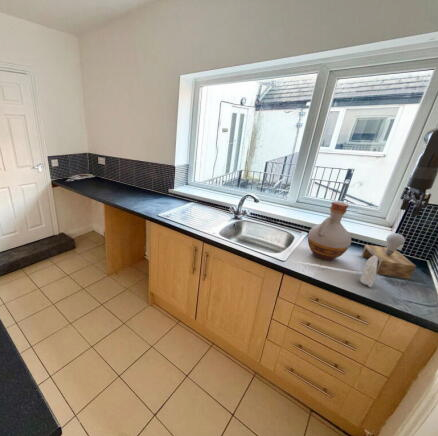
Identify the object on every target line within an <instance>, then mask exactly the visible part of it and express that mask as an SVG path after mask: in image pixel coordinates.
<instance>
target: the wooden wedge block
mask: <svg viewBox="0 0 438 436" xmlns="http://www.w3.org/2000/svg"><path fill="white" fill-rule="evenodd" d="M363 247H364V248H363V250H362V252H361V257H362V258H367V259H369V258H371V257H372V256H375V257H377V259H378V264H377V268H376V274H378V275H384V276H388V277H389V276H390V277H395V278H400V279H405V280H406V279H407V280H410V279H412V276H413V273H414V271H415V269H416V267H417V266H416V265H415V263H413V262H412V261H411V260H409V259H408V258H407V257H406V256H404V255H403V254H402V253H401V252H400V251H398V250H397V249H396V250H395V251H394V253H393V254H390V255H389V254H387V253H386V250H387V246H386V247H385V246H378V245H372V244H365V245H364V246H363Z"/></svg>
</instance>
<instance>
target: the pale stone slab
mask: <svg viewBox="0 0 438 436" xmlns="http://www.w3.org/2000/svg"><path fill="white" fill-rule="evenodd" d="M378 263H379V261H378V259H377V257H375V256H372V257H371V258H367V260H366V262H365V263H364V265H363V267H362V268H361V272H362V274H361V276H360V279H359V280H360V282H361V283H362V284H363V285H367V286H368V287H369V288H372V287H373V283H374V282H375V279H376V277H377V273H376V270H377V267H378Z"/></svg>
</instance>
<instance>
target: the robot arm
mask: <svg viewBox="0 0 438 436" xmlns="http://www.w3.org/2000/svg"><path fill="white" fill-rule="evenodd" d="M422 140H423V143H424V144H426V145H425V147H424V150H423V151H422V152H421V153H420V154H419V155H418V157H417V160H416V162H415V165H414V167H413V169H412V170H411V173H410V175H409V178H408V181H407V184H406V186H405V187H403V188H404V189H403V190H402V193H401V195H400V200H401V202H402V203H401V205H400V207H399V209H400V210H401V211H407V210H408V208H409V206H410V202H411V201H412V203H413V208H412V211H411V213H410V215H412V216H415V217H417V216H419V215H420V214H421V213H420V212H421V210H422V208H428V205H429V201H430V199H431V197H432V193H429V192H427V190H431V189H432V188H433V186H434V183H435V181H436V179H437V176H438V127H435V128H432V129H430V130H428V131H427V132H426V133H425V134H424V135H423V138H422Z"/></svg>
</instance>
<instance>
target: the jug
mask: <svg viewBox="0 0 438 436" xmlns="http://www.w3.org/2000/svg"><path fill="white" fill-rule="evenodd" d="M349 206H350V205H349V204H348V203H345V202H341V201H331V207H329V211H330V215H329V216H328V217H326V218H325V219H324V220H323V221H322V222H321V223H319V224H316V225H314V226H312V228H311V229H309V231H308V233H307V234H308V235H307V243H308V247H309V249H310V251H311V252H312V254H313V256H314V257H316V258H317V259H320V260H323V261H332V260H335V259H336V258H337V259H338V258H339V257H341V256H343V255H344V254H345V253H346V252H347V251H348V249H349V248H350V246H351V244H352V236H351V235H350V234H351V233H349V232H348V230H347V229H346V228H345V227H344V225H343V224H342V223H341V222H342V218H343V217H344V215H345V214H346V213H347V211H348V210H347V209H348V208H349Z"/></svg>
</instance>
